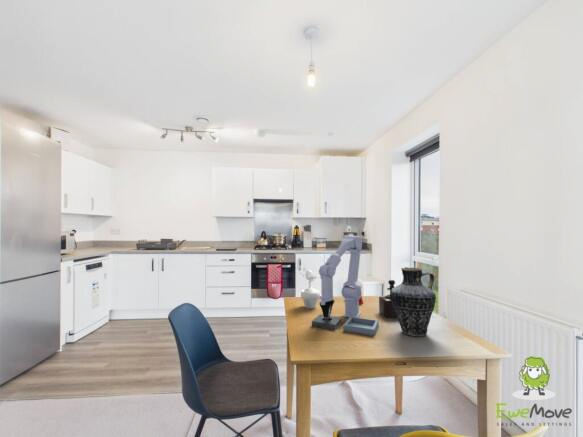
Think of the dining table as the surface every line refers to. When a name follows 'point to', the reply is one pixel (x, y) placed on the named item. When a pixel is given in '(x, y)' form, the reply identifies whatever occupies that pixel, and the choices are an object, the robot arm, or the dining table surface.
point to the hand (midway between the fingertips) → (327, 315)
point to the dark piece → (387, 304)
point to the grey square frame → (327, 322)
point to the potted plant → (310, 292)
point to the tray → (361, 326)
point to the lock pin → (328, 316)
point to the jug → (413, 301)
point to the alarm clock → (360, 301)
